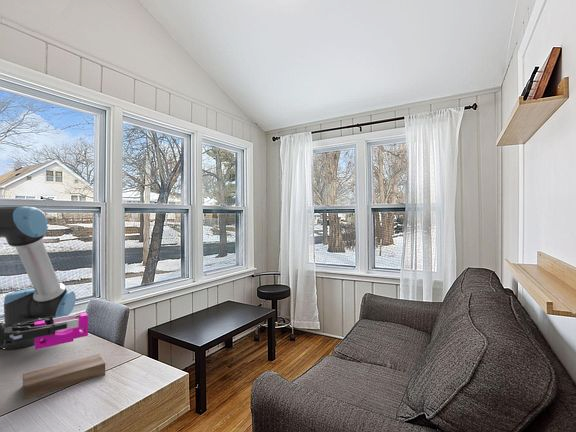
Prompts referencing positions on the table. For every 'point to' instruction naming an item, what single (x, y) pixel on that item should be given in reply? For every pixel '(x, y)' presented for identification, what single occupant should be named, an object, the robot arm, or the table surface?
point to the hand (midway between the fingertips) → (76, 320)
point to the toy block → (62, 333)
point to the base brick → (62, 375)
